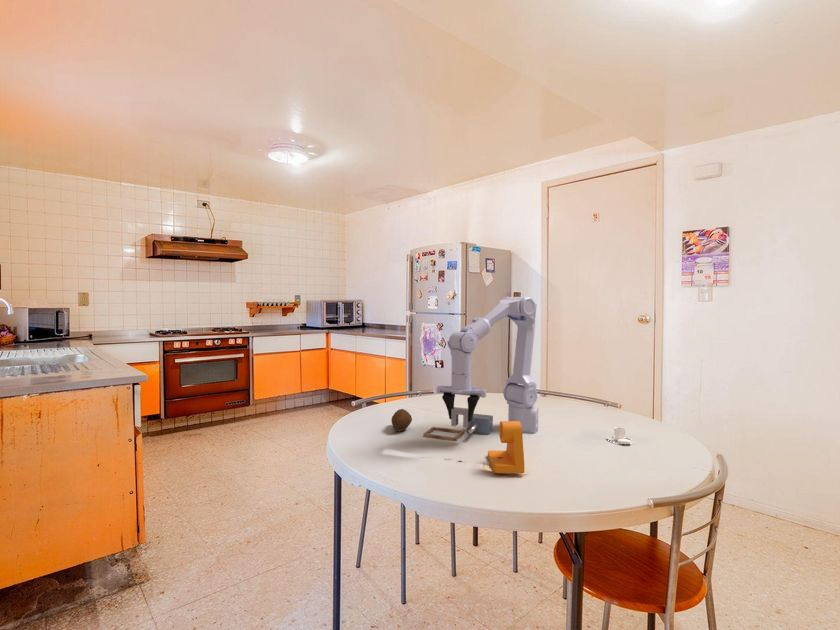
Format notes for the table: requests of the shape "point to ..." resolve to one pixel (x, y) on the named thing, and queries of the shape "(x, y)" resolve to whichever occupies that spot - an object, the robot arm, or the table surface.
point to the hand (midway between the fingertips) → (460, 419)
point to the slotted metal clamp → (459, 411)
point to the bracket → (509, 449)
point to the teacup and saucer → (620, 436)
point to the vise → (481, 424)
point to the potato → (401, 420)
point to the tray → (427, 434)
